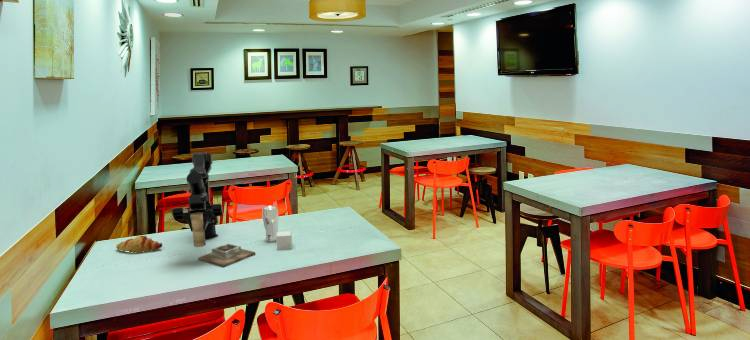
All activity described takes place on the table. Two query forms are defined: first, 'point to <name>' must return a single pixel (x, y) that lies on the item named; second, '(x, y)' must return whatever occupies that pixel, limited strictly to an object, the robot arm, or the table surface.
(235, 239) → the table surface
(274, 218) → the beer glass
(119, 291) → the table surface
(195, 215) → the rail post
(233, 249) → the cup bracket
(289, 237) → the light grey cube
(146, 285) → the table surface
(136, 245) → the croissant
